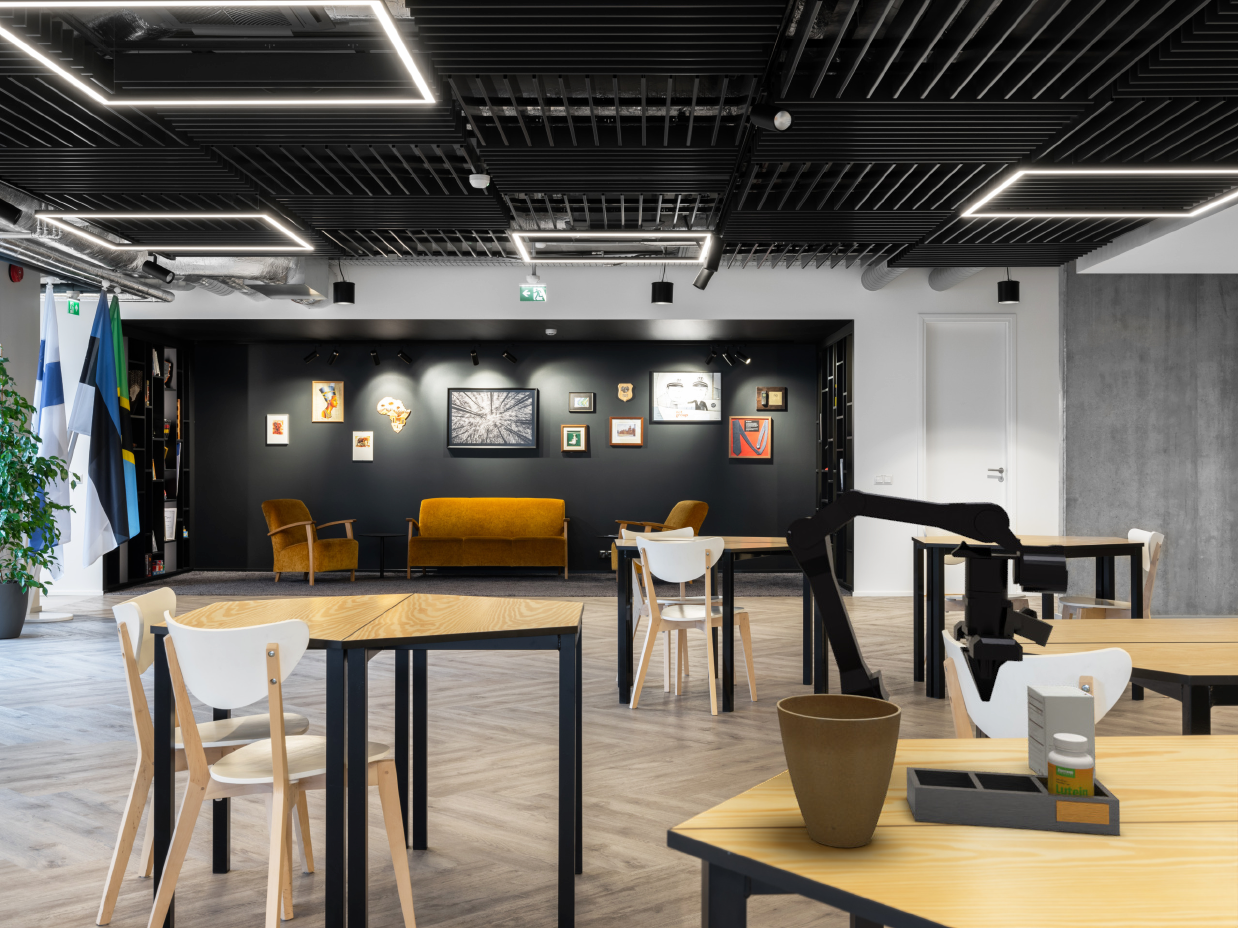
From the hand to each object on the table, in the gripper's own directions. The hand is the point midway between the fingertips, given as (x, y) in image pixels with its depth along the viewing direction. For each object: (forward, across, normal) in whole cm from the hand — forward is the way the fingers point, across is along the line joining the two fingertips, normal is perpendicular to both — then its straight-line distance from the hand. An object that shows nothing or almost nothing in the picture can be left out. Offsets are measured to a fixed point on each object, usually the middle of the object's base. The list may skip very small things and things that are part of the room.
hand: (985, 701), depth 130 cm
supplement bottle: (+12, -9, -9) cm, 18 cm away
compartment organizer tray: (+13, -10, -1) cm, 16 cm away
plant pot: (+13, -22, +21) cm, 33 cm away
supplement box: (+13, +12, -13) cm, 21 cm away
